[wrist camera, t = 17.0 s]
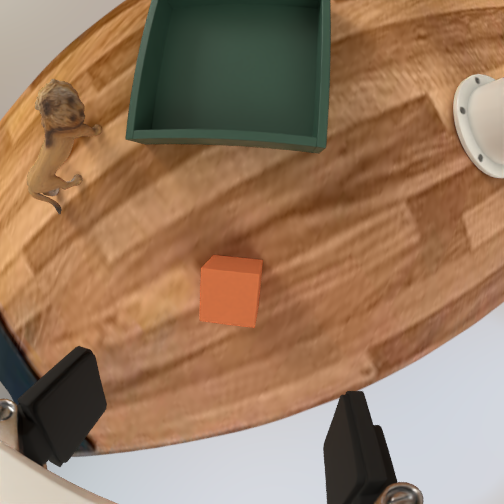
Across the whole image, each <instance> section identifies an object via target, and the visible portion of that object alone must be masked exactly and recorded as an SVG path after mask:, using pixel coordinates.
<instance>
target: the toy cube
mask: <svg viewBox="0 0 504 504" xmlns="http://www.w3.org/2000/svg"><path fill="white" fill-rule="evenodd" d="M262 265H263V260H259V259H250V258H240V257H230V256H221V255H213V256H212V257H211V258H210V259H209V260H208V261H207V262H206V263H205V264H204V265H203V267H202V268H201V283H200V321H205V322H212V323H219V324H227V325H235V326H243V327H252V328H255V323H256V318H257V312H258V306H259V296H260V286H261V276H262Z"/></svg>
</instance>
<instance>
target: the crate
mask: <svg viewBox="0 0 504 504" xmlns="http://www.w3.org/2000/svg"><path fill="white" fill-rule="evenodd" d="M330 47H331V14H330V0H152V1H151V5H150V8H149V12H148V16H147V19H146V23H145V27H144V32H143V36H142V40H141V45H140V49H139V54H138V59H137V64H136V69H135V74H134V80H133V86H132V92H131V99H130V106H129V113H128V121H127V129H126V140H130V141H134V142H138V143H142V144H203V145H228V146H246V147H260V148H272V149H283V150H293V151H302V152H311V153H320V152H321V151H322V150H324V149H325V148H326V141H327V126H328V109H329V87H330Z"/></svg>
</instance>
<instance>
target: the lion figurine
mask: <svg viewBox="0 0 504 504" xmlns="http://www.w3.org/2000/svg"><path fill="white" fill-rule="evenodd" d="M35 104H36V105H35V109H36V110H40V114H41V116H42V118H41V120H42V126H43V127H44V129H45V140H44V143H43V145H42V148H41V151H40V154H39V156H38V158H37V160H36V162H35V164H34V165H33V166H32V168H31V169H30V171H29V173H28V176H27V185H28V190H29V193H30V194H31V195H32V196H33V197H34V198H36V199H38V200H42V201H45V202H49V203H51V204H52V205H53V206H54V207H55V208H56V210H57V212H58V213H59V214H61V207H60V205H59V204H58V203H57V202H56V201H54V200H52V199H50V198H48V197H46V196H44V195H48V196H55V195H57V193H58V191H59V188H62V189H64V190H65V189H68V188H70V187H72V186H76V185H79V184H80V183H81V181H82V177H81V176H80V175H79V174H76V175H75V176H74V178H73V179H72V180H71V181H69V182H66V181H64V180H63V179H61V178H60V177H57V176H56V175H55V173H56V171H57V170H58V169H59V168H60V167H61V165H62V164H63V163H64V162H65V161H66V159H67V158H68V156H69V154H70V152H71V149H72V146H73V142H74V139H75V138H78V137H81V136H96V135H98V134H100V132H101V126H100V125H94V127H92V128H91V127H89V126H88V125H85V124H83V122H84V119H85V115H84V105H83V103H82V102H81V100H80V99H79V96H78V93H77V91H76V90H75V89H73V87H72V86H71V84H69V83H67V82H64V81H58V80H55V79H52V80H51V81H50V83H48V84H46V85H45V87H43V88H42V89H41V90H39V92H38V97H37V101H36V102H35ZM39 193H43V194H44V195H41V194H39Z"/></svg>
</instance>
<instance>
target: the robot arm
mask: <svg viewBox="0 0 504 504" xmlns="http://www.w3.org/2000/svg"><path fill="white" fill-rule="evenodd" d="M453 114H454V121H455V126H456V130H457V134H458V136H459V139H460V141H461V144H462V146H463V148H464V150H465V151H466V153H467V155H468V156H469V158H470V159H471V161H472V162H473V163H474V164H475V165H476V166H477V167H478V168H479V169H480V170H481V171H482V172H484V173H485V174H487V175H489V176H491V177H495V178H504V77H502V78H500V79H498V80H495V79H493V78H492V77H489V76H486V75H481V74H477V75H472V76H470V77H468V78H466V79H465V80H463V81H462V82H461V83H460V85H459V86H458V87H457V90H456V93H455V96H454V102H453ZM18 402H19V404H18V405H17V406H16V404H15V403H14V402H13V401H11V400H8V399H0V504H117V503H115V502H112V501H110V500H108V499H105V498H103V497H100V496H98V495H96V494H94V493H92V492H89V491H87V490H85V489H83V488H81V487H79V486H77V485H75V484H73V483H71V482H69V481H67V480H65V479H63V478H61V477H60V476H58V475H56V474H54V473H52V472H51V471H49V470H47V465H46V462H47V461H48V460H49V461H50V462H52V463H53V464H55V465H57V466H59V467H61V465H62V464H63V463H66V462H67V461H68V460H69V459H70V458H71V456H72V455H73V453H74V452H75V451H76V449H77V448H78V447H79V445H80V444H81V443H82V441H83V440H84V438H85V437H86V436H87V434H88V433H89V432H90V430H91V429H92V428H93V426H94V425H95V424H96V422H97V421H98V420H99V418H100V417H101V416H102V414H103V413H104V412H105V410H106V406H107V403H106V399H105V396H104V392H103V388H102V384H101V380H100V375H99V371H98V366H97V362H96V357H95V355H94V354H93V353H92V351H91V350H90V349H86V348H83V347H80V346H78V347H76V348H75V349H74V350H72V351H71V352H70V353H69V354H68V355H67V356H65V357H64V358H63V359H62V360H61V361H60V362H59V363H57V364H56V365H55V366H54V367H53V368H52V369H51V370H50V371H48V372H47V373H46V374H45V375H44V376H43V377H42V378H41V379H40V380H38V381H37V382H36V383H35V384H34V385H33V386H32V387H31V388H30V389H29V390H27V391H26V392H25V393H24V394H23V395H22V396H21V397H20V398H19V399H18ZM323 450H324V464H325V476H326V491H327V504H423V495H422V493H421V491H420V490H419V489H418V488H417V487H416V486H414V485H412V484H409V483H406V482H398V483H397V479H396V476H395V472H394V468H393V465H392V461H391V457H390V454H389V450H388V447H387V444H386V440H385V437H384V434H383V431H382V428H381V427H380V426H379V425H373V422H372V419H371V416H370V412H369V409H368V406H367V402H366V399H365V396H364V393H363V392H362V391H347V392H346V394H345V395H341V396H340V399H339V402H338V405H337V408H336V411H335V414H334V417H333V420H332V422H331V425H330V428H329V431H328V434H327V436H326V439H325V442H324V448H323Z"/></svg>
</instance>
